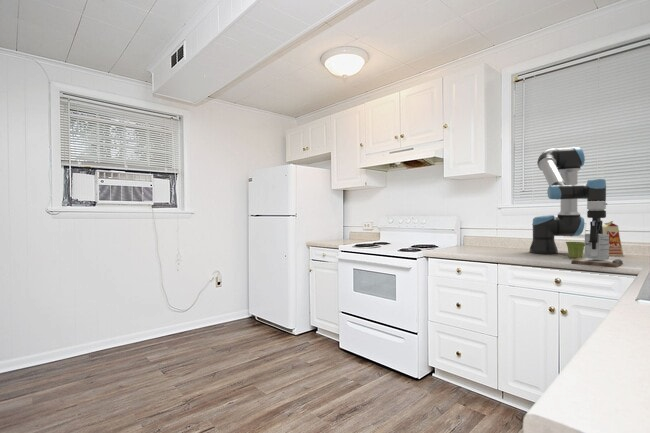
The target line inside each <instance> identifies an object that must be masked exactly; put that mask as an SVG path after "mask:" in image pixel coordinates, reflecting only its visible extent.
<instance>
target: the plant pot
mask: <svg viewBox="0 0 650 433" xmlns="http://www.w3.org/2000/svg"><path fill="white" fill-rule="evenodd" d="M565 243H566V247H567V253H568V257H569V258H571V259H573V258H574V259H577V258H583V255H584V251H585V241H565Z"/></svg>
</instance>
